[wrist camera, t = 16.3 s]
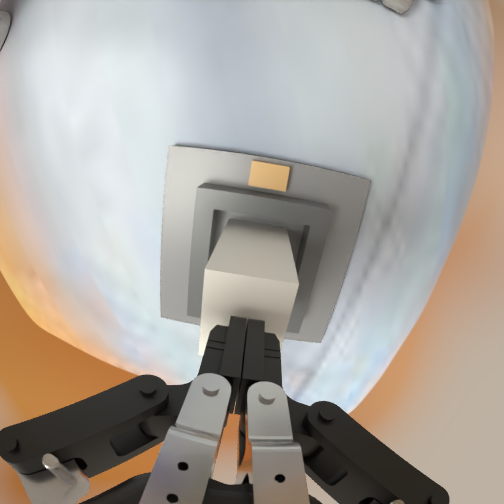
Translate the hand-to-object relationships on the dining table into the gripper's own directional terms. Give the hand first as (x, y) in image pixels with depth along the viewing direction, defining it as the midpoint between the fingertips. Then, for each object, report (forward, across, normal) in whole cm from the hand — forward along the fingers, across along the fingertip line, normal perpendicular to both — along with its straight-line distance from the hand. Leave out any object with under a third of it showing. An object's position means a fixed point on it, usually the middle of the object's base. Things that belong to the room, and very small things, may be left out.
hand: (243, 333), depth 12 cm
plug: (+9, 0, 0) cm, 9 cm away
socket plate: (+10, 0, 0) cm, 10 cm away
